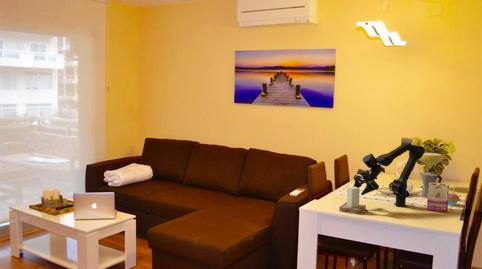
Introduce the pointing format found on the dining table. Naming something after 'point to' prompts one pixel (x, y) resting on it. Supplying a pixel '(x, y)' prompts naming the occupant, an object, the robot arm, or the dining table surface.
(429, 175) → the coffeepot
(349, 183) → the dining table surface
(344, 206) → the walnut base
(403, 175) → the robot arm
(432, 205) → the candy bar box
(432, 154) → the cocktail glass
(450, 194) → the cupcake
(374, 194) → the dining table surface
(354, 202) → the sage block
